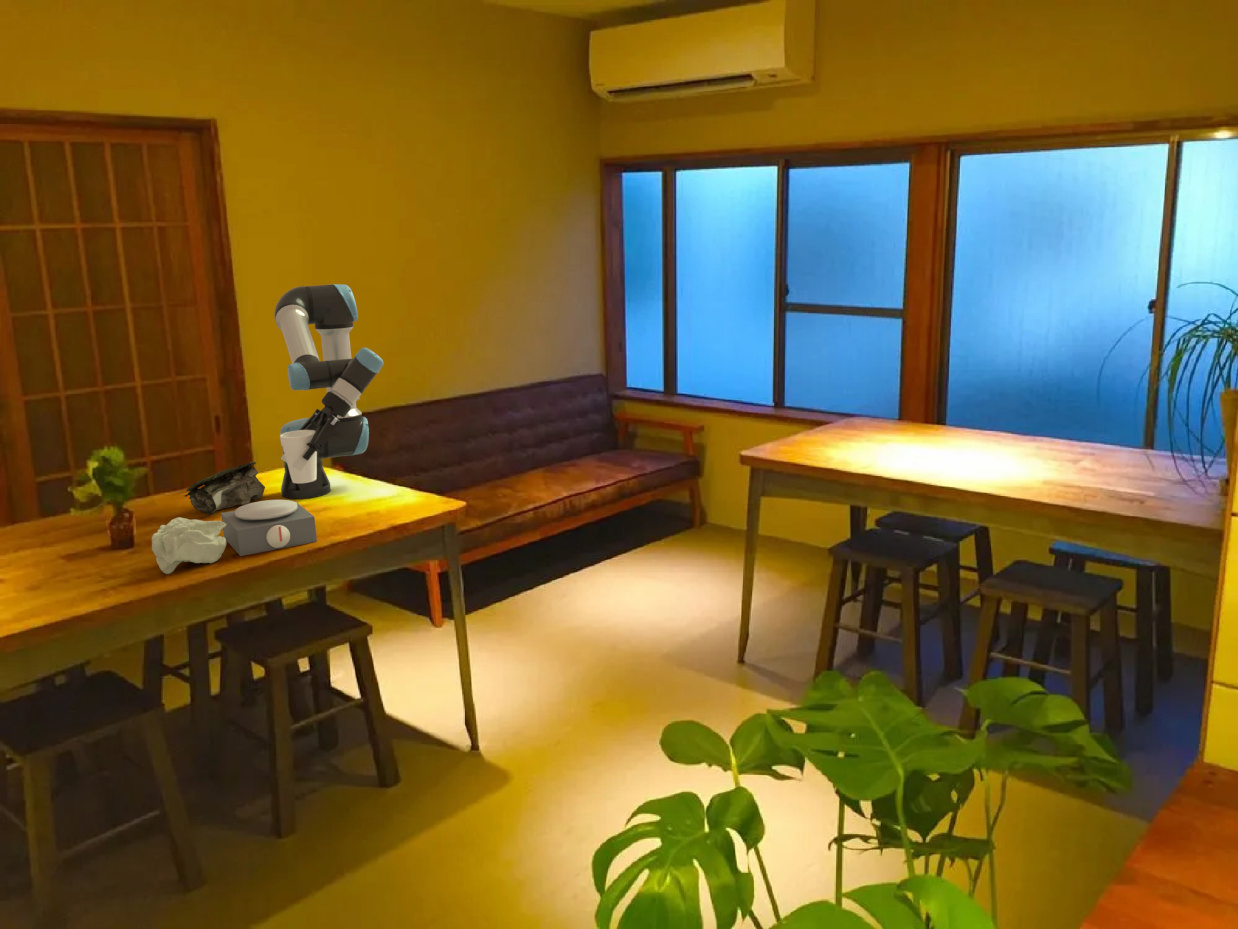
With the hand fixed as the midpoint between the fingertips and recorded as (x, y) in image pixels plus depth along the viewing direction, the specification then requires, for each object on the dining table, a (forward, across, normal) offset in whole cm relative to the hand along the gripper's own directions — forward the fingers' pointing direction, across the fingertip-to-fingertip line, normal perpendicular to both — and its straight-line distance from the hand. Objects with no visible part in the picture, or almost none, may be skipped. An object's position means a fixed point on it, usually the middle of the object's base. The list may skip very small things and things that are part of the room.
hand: (290, 464), depth 277 cm
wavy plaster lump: (+35, -6, +7) cm, 36 cm away
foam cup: (+1, 0, -6) cm, 6 cm away
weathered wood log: (+21, +46, -8) cm, 52 cm away
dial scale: (+19, +3, -9) cm, 22 cm away
